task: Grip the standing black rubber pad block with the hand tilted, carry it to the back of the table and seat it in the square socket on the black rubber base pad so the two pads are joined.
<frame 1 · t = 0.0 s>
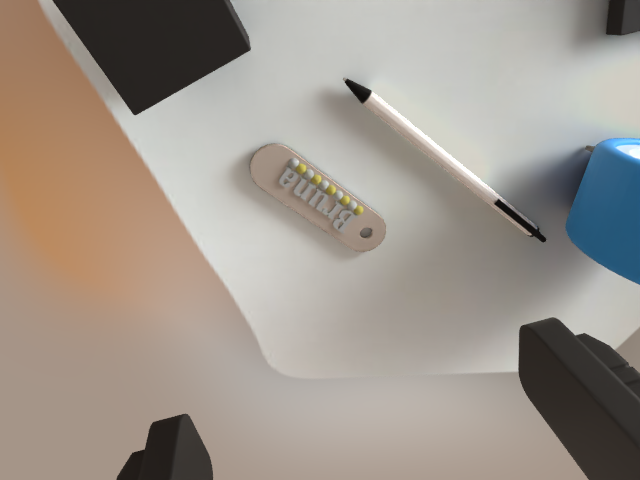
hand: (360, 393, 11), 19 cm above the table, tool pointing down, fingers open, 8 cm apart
keychain: (321, 199, 29), on the table
alarm clock: (615, 178, 32), on the table
pen: (452, 166, 29), on the table
pad block: (182, 14, 23), on the table
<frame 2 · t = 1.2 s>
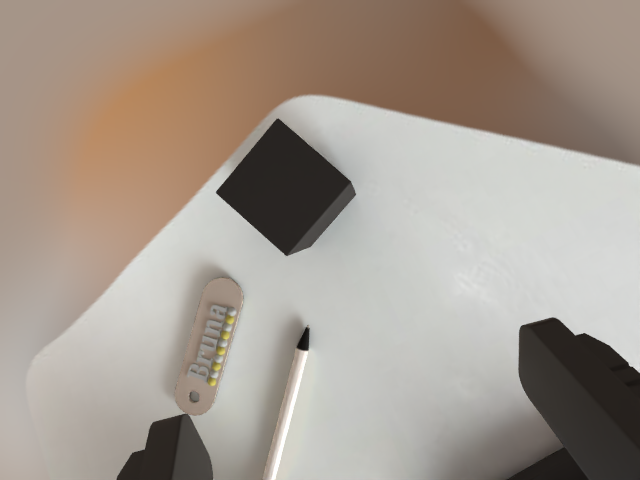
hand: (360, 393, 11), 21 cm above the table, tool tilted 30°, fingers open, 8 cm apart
keychain: (210, 345, 33), on the table
pen: (277, 446, 33), on the table
pad block: (306, 197, 31), on the table
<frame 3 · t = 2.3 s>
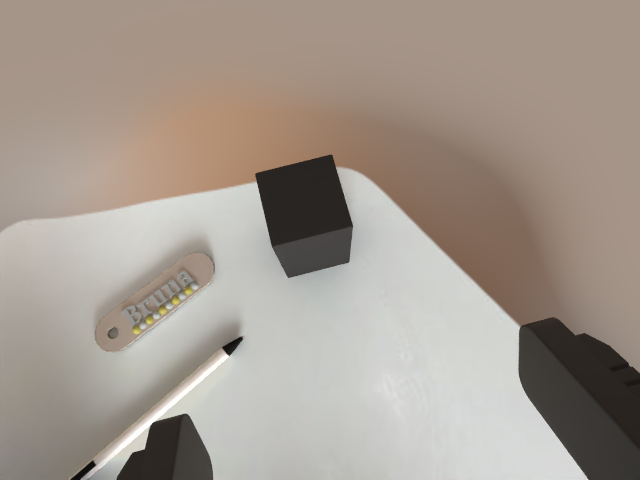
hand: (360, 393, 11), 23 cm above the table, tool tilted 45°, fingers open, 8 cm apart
keychain: (157, 301, 35), on the table
pen: (144, 424, 32), on the table
pad block: (311, 240, 36), on the table
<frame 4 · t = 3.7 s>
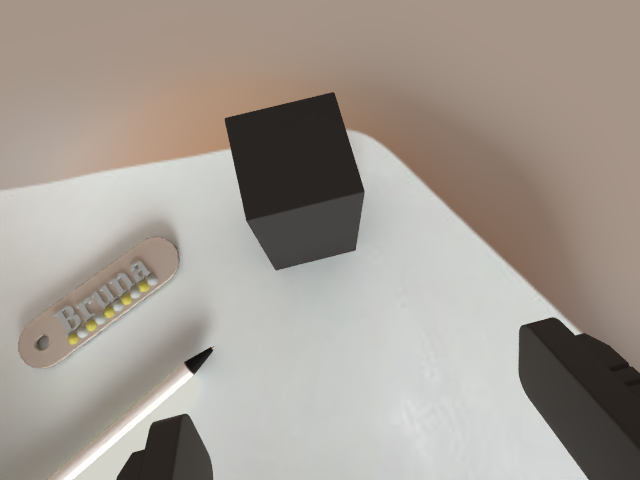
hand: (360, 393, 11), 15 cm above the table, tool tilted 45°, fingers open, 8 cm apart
keychain: (104, 301, 26), on the table
pen: (78, 466, 24), on the table
pad block: (306, 222, 27), on the table
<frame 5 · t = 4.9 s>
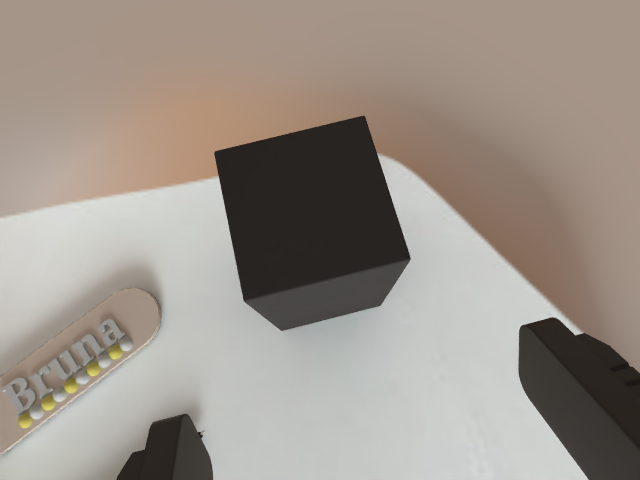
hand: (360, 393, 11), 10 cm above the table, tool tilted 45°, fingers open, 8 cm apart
keychain: (66, 369, 21), on the table
pad block: (318, 269, 22), on the table
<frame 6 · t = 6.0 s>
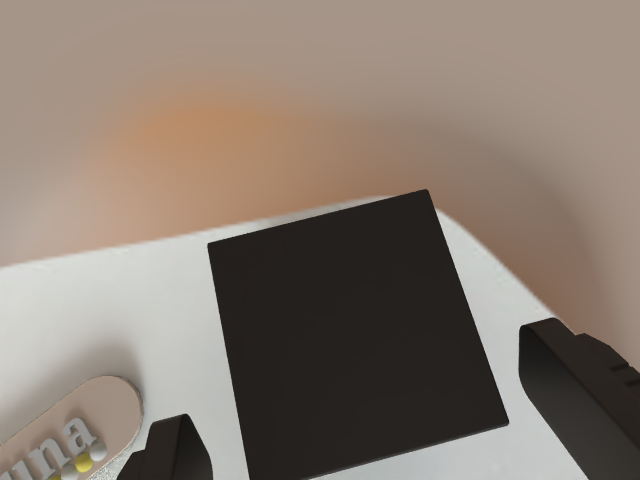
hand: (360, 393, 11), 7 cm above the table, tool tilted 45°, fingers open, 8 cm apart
pad block: (342, 349, 18), on the table
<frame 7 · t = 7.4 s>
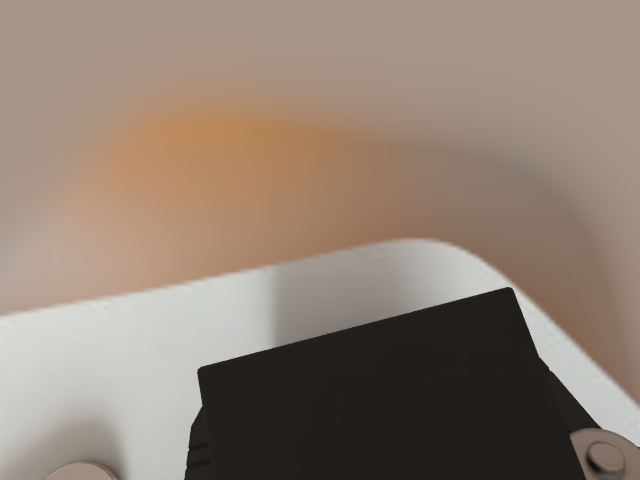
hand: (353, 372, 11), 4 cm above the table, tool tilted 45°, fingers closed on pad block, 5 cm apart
pad block: (364, 428, 15), on the table, touching gripper
when the fingers open (5 cm above the table, at t = 17.8 s): pad block stays where it is, resting on base pad.
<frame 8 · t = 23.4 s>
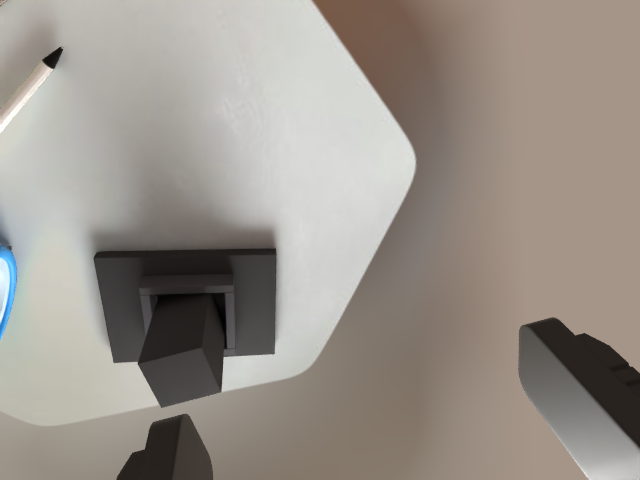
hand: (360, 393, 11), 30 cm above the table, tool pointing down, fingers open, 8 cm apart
base pad: (193, 303, 44), on the table
pad block: (192, 311, 43), point 1 cm above the table, touching base pad
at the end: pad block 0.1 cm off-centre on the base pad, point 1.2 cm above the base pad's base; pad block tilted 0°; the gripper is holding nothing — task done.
